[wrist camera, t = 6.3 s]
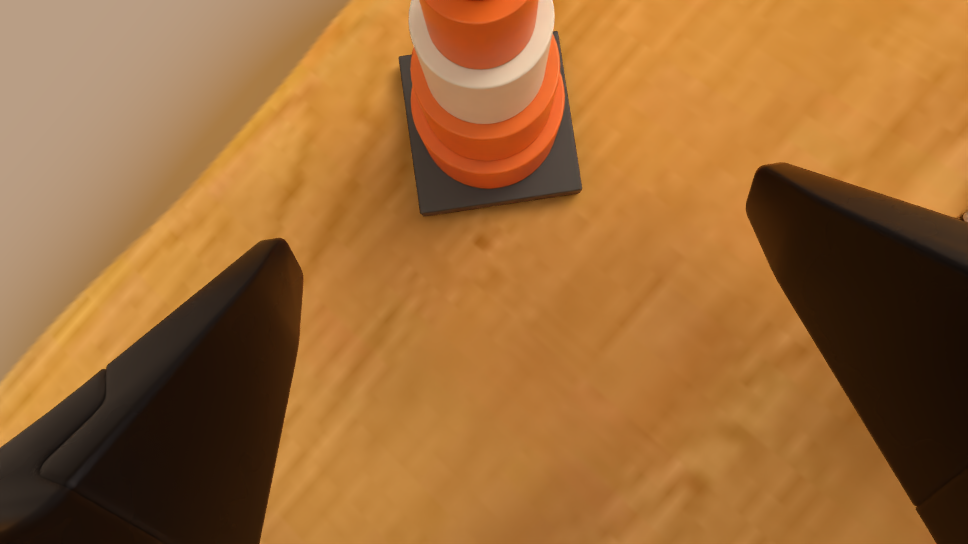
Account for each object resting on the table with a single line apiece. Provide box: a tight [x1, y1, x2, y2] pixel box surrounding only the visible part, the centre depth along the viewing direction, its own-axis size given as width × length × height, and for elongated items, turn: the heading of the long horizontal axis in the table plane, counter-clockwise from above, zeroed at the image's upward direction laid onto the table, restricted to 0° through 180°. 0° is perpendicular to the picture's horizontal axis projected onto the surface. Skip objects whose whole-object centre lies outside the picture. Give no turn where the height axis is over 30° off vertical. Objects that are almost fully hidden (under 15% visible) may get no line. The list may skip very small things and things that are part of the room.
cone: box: [399, 0, 582, 216], centre depth 15 cm, size 7×7×12 cm
